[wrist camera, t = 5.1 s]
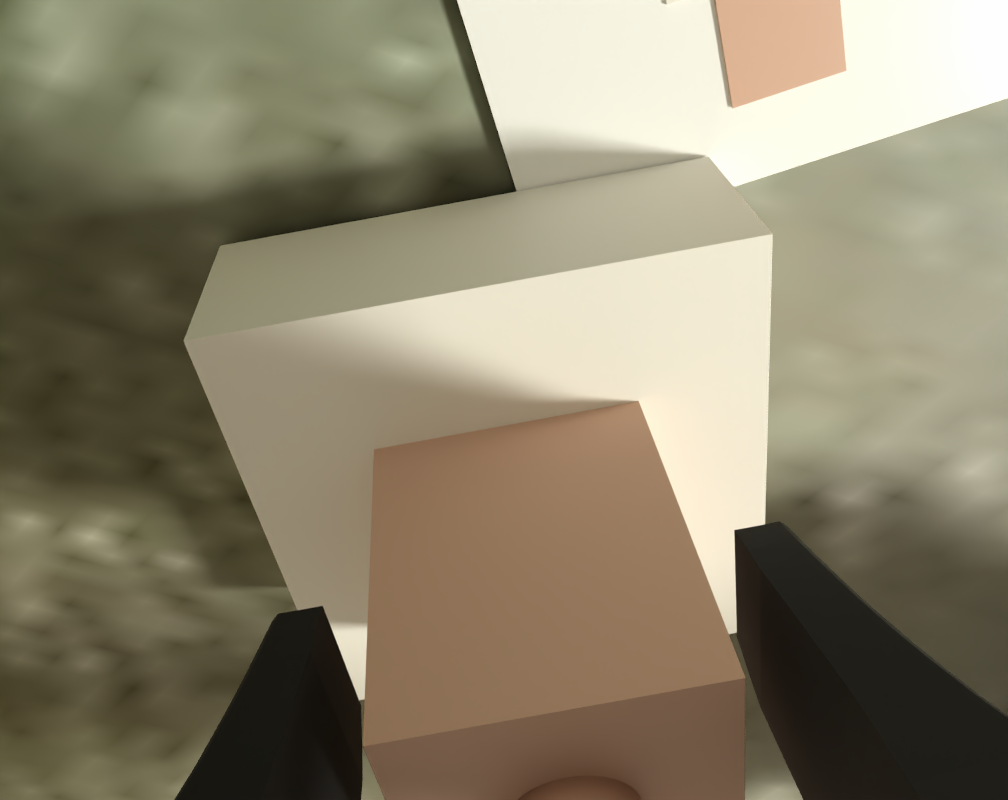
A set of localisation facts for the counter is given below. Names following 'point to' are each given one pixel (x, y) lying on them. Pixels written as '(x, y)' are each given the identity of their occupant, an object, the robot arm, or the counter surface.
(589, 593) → the top brick
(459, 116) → the counter surface
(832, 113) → the page
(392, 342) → the base brick
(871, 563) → the counter surface
